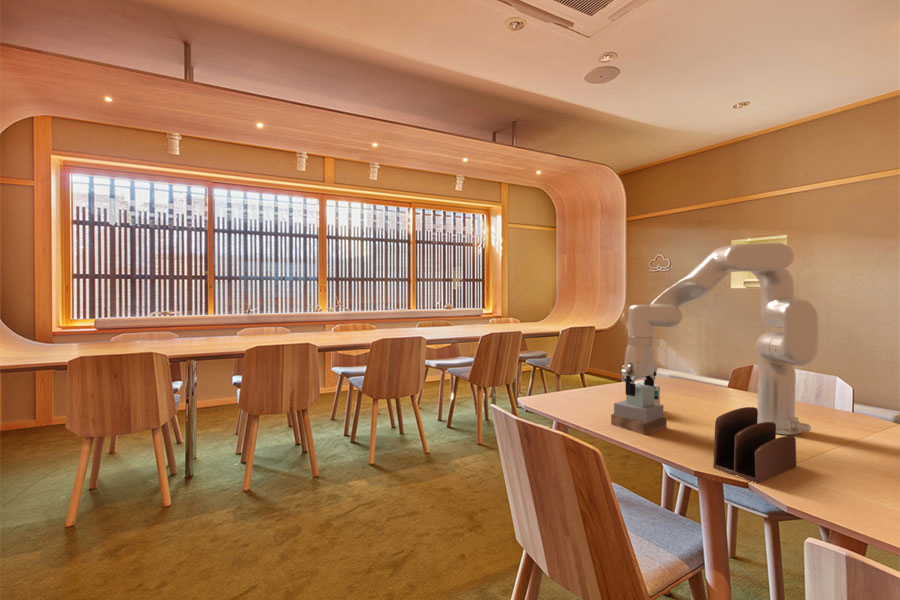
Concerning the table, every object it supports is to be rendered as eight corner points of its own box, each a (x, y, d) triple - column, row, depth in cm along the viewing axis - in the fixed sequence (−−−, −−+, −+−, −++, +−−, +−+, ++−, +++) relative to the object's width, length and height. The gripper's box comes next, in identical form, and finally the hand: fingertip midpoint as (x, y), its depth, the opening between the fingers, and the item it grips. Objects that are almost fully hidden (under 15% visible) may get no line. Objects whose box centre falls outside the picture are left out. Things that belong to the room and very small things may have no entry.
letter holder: (712, 468, 106) (713, 413, 106) (753, 454, 116) (754, 403, 116) (757, 484, 98) (758, 424, 97) (797, 467, 107) (798, 412, 107)
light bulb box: (660, 415, 151) (660, 385, 151) (641, 415, 151) (641, 385, 151) (647, 407, 162) (647, 379, 162) (629, 407, 162) (629, 379, 162)
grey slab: (663, 417, 138) (663, 405, 138) (646, 423, 131) (646, 410, 131) (631, 409, 147) (631, 398, 147) (613, 415, 140) (614, 403, 140)
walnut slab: (666, 430, 137) (666, 418, 137) (643, 436, 131) (644, 424, 131) (633, 420, 147) (633, 409, 147) (611, 426, 141) (611, 414, 141)
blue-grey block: (654, 405, 138) (654, 386, 138) (642, 407, 135) (642, 388, 135) (638, 400, 143) (638, 383, 143) (626, 403, 140) (626, 385, 140)
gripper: (646, 339, 146) (645, 388, 147) (613, 342, 138) (612, 394, 138) (667, 341, 140) (666, 392, 140) (633, 344, 131) (633, 399, 132)
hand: (639, 393), depth 139 cm, fingers open, 9 cm apart
